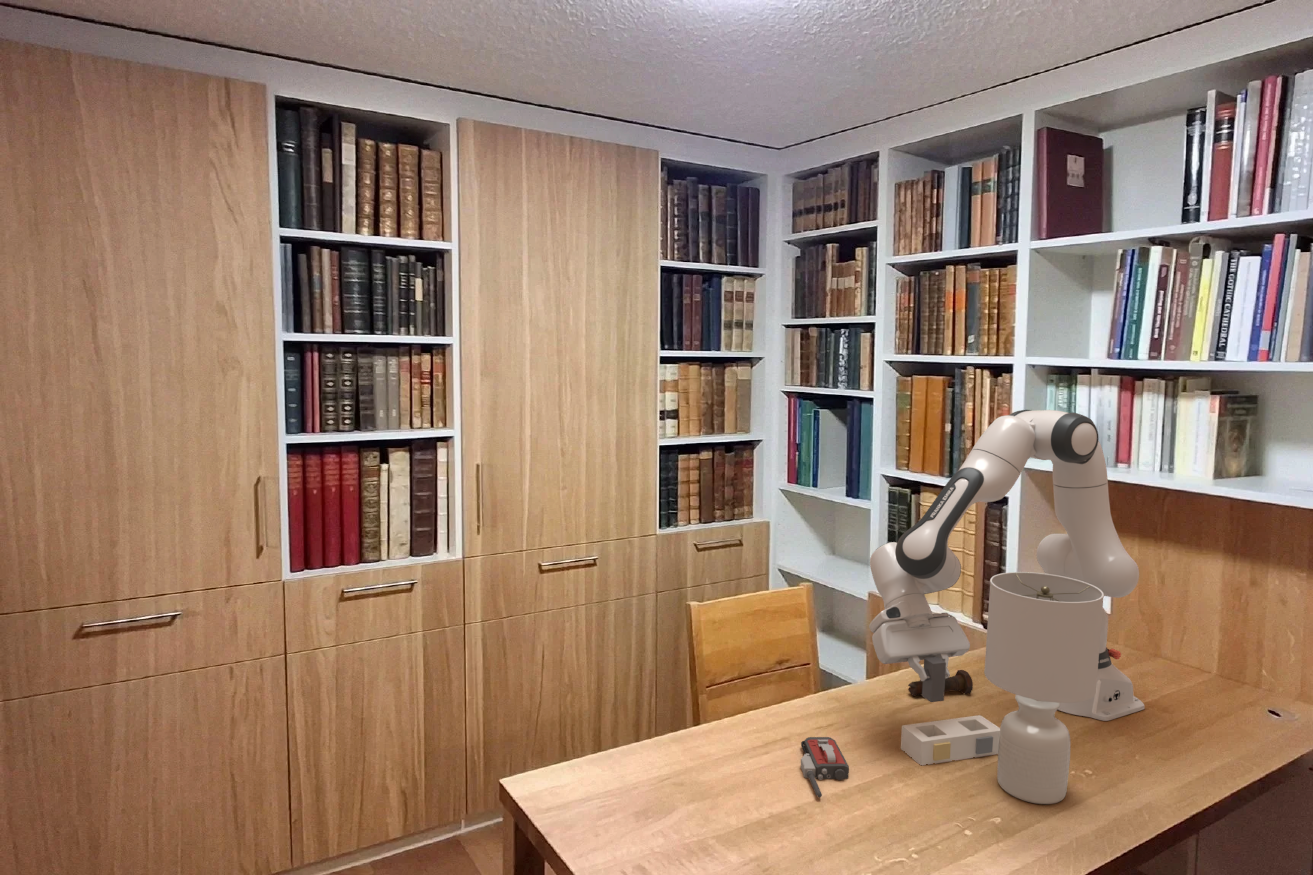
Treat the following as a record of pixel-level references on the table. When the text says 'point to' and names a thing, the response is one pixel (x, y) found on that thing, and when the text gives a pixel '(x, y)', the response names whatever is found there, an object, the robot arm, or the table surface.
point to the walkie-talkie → (822, 761)
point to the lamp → (1040, 673)
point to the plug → (934, 679)
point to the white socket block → (950, 739)
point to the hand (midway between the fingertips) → (936, 678)
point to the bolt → (947, 684)
